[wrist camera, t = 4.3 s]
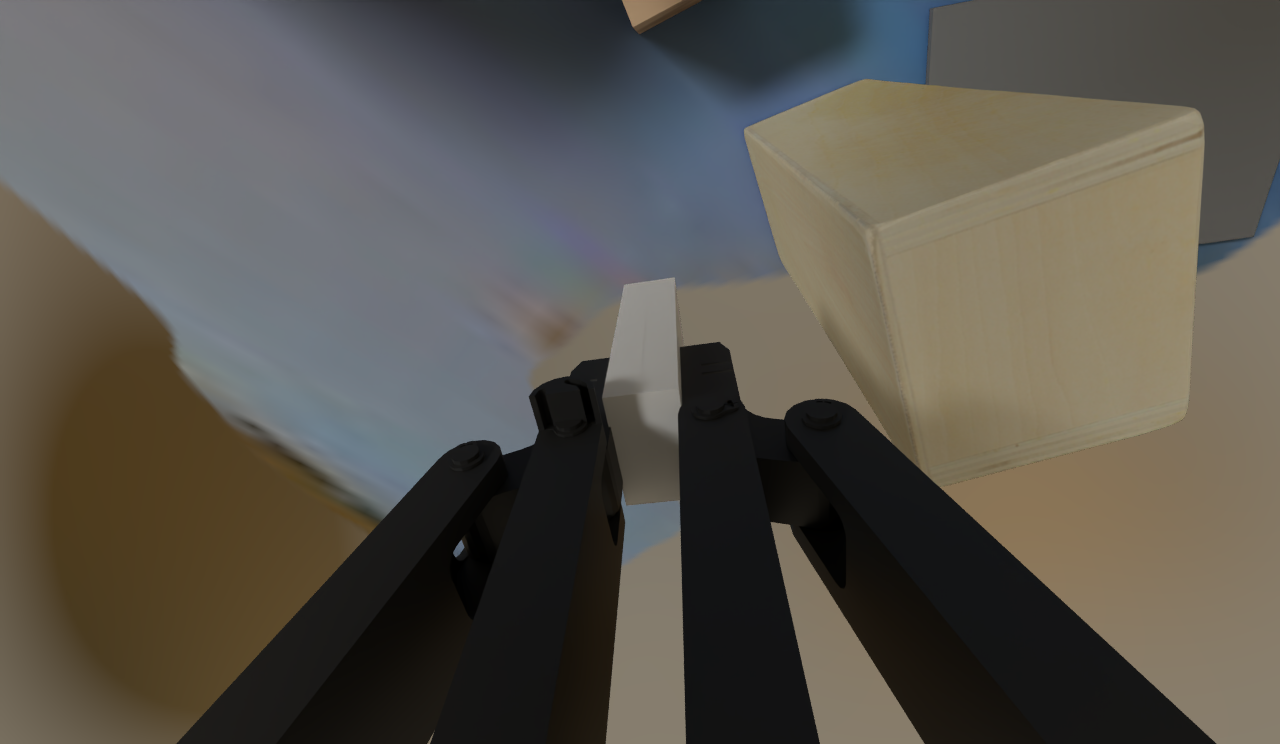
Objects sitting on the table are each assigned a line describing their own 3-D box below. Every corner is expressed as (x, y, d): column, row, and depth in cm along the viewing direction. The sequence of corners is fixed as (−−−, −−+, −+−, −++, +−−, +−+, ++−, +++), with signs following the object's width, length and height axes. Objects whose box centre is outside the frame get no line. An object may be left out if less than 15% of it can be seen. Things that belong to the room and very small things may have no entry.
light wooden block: (907, 218, 32) (1225, 419, 14) (780, 263, 34) (916, 498, 16) (880, 70, 29) (1254, 79, 11) (741, 128, 31) (855, 223, 12)
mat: (914, 281, 34) (916, 283, 34) (929, 8, 28) (933, 7, 27) (1247, 234, 32) (1253, 236, 32) (1347, -72, 26) (1356, -74, 25)
